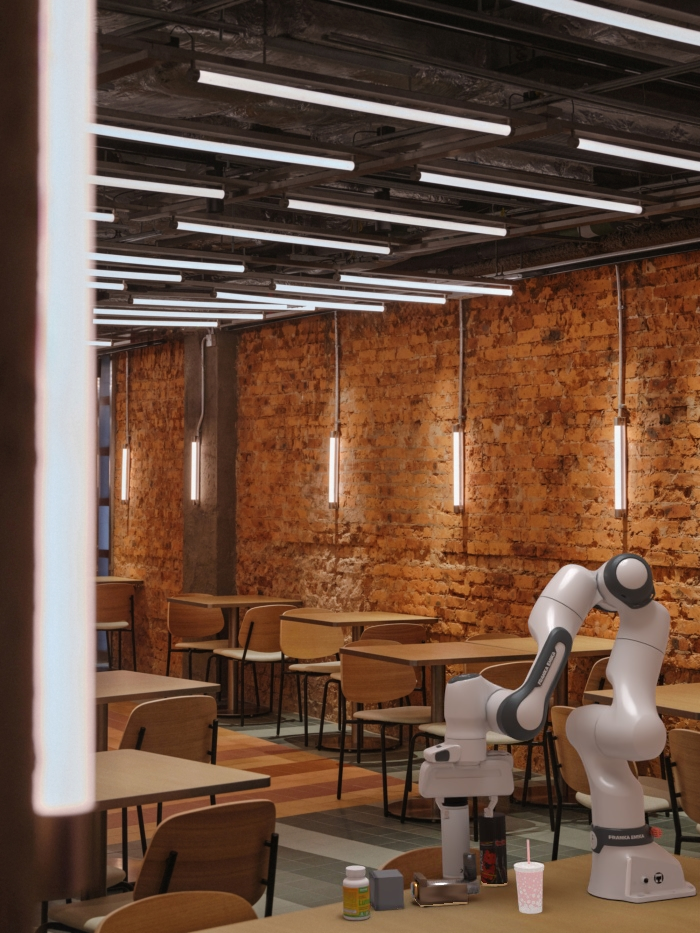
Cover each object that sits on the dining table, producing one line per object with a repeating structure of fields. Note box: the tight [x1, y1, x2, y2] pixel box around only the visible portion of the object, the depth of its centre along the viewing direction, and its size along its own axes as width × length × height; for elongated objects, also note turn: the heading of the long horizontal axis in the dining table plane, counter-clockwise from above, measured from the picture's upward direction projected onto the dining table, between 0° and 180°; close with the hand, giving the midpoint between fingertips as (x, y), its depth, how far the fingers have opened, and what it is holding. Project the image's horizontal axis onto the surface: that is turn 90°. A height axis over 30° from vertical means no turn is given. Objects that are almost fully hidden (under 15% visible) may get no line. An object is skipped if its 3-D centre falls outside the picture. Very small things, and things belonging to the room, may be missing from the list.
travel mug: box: [440, 797, 471, 879], centre depth 272 cm, size 6×7×20 cm
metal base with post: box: [410, 852, 480, 899], centre depth 254 cm, size 14×3×8 cm, turn 99°
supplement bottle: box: [342, 865, 371, 921], centre depth 243 cm, size 5×5×10 cm
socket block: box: [368, 869, 405, 912], centre depth 251 cm, size 6×6×6 cm
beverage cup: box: [513, 839, 545, 915], centre depth 245 cm, size 6×6×14 cm
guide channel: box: [412, 871, 469, 905], centre depth 253 cm, size 10×6×6 cm, turn 99°
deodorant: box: [478, 811, 509, 884], centre depth 268 cm, size 6×6×15 cm
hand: (466, 818), depth 256 cm, fingers open, 8 cm apart
